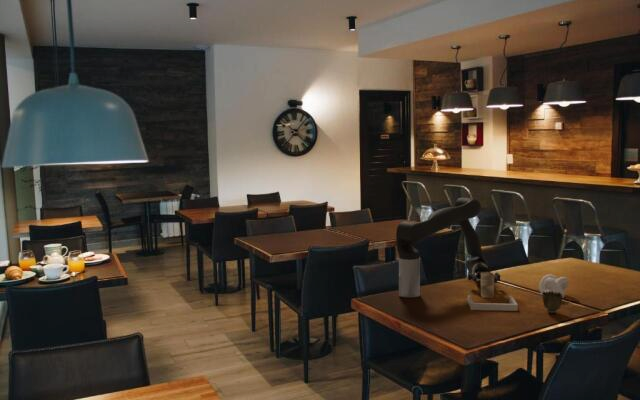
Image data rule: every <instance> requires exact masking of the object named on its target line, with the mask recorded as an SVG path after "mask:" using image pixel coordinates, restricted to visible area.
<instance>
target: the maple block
mask: <svg viewBox="0 0 640 400" xmlns="http://www.w3.org/2000/svg"><path fill="white" fill-rule="evenodd" d="M493 274H494V273H493V272H490V273H481V282H480V296H481V298H484V299H485V298H486V299H487V298H488V299H489V298H491V299H494V297H495V283H494V275H493Z"/></svg>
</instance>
